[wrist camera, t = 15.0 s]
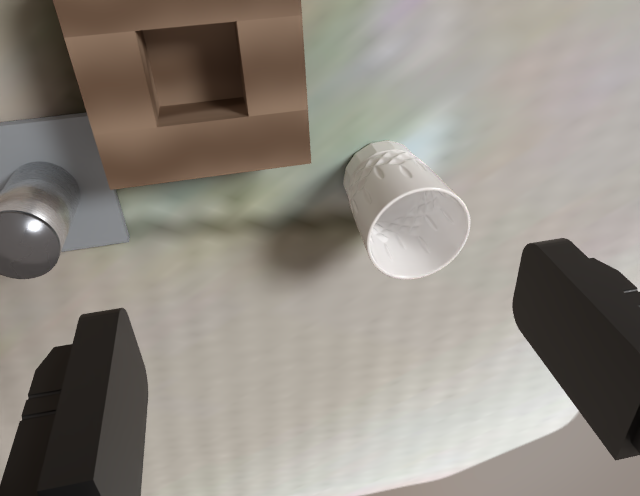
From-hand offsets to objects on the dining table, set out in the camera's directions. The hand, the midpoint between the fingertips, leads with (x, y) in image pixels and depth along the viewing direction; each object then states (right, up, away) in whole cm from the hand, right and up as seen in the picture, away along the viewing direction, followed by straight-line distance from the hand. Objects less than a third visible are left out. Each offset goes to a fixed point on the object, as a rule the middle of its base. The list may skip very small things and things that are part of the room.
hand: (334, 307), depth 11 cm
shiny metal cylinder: (-21, +6, +31) cm, 38 cm away
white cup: (+5, +8, +37) cm, 38 cm away
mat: (-22, +6, +32) cm, 39 cm away
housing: (-9, +15, +28) cm, 33 cm away
